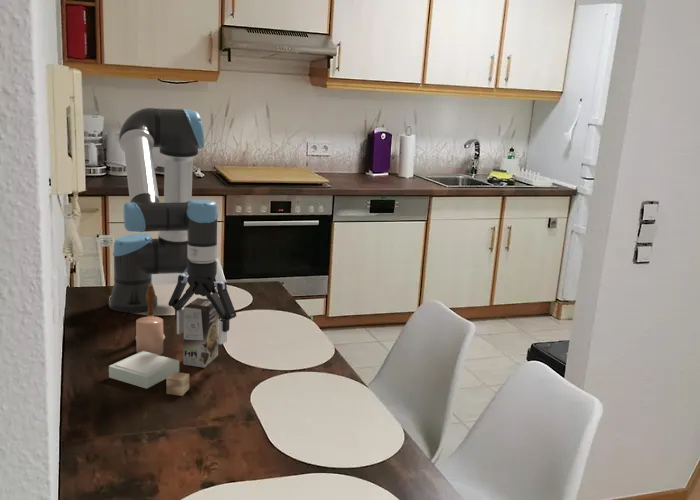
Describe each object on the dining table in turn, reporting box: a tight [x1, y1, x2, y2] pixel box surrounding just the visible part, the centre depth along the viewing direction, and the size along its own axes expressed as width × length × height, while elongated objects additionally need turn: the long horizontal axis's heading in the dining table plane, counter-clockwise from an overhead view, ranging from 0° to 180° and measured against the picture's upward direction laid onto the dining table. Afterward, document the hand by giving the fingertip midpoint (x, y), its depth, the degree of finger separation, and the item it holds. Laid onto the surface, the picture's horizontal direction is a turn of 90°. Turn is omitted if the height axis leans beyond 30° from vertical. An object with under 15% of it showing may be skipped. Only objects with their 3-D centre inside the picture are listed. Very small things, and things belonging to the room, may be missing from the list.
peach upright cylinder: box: [135, 316, 164, 356], centre depth 182 cm, size 7×7×9 cm
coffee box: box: [182, 297, 220, 368], centre depth 177 cm, size 9×6×16 cm
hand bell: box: [134, 284, 166, 341], centre depth 191 cm, size 8×8×16 cm
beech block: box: [165, 371, 190, 397], centre depth 160 cm, size 4×4×4 cm
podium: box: [108, 351, 180, 389], centre depth 168 cm, size 12×12×3 cm
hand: (201, 337), depth 178 cm, fingers open, 13 cm apart
